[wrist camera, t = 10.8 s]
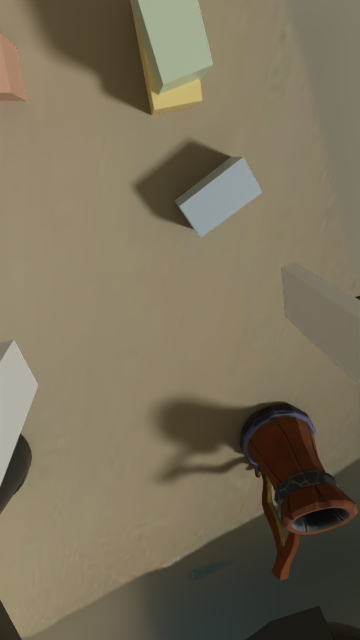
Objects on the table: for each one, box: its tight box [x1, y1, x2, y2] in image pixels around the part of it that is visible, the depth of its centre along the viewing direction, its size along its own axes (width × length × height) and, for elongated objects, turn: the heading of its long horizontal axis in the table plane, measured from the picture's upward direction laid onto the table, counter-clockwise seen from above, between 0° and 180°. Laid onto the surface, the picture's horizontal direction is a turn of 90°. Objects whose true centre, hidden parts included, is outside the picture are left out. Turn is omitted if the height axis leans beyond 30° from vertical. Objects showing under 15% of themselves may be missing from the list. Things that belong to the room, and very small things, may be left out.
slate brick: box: [175, 157, 262, 238], centre depth 32 cm, size 7×4×4 cm, turn 125°
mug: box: [240, 405, 358, 580], centre depth 45 cm, size 18×12×15 cm, turn 165°
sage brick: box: [130, 0, 213, 95], centre depth 23 cm, size 6×4×4 cm, turn 19°
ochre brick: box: [131, 6, 202, 115], centre depth 27 cm, size 8×4×4 cm, turn 10°
